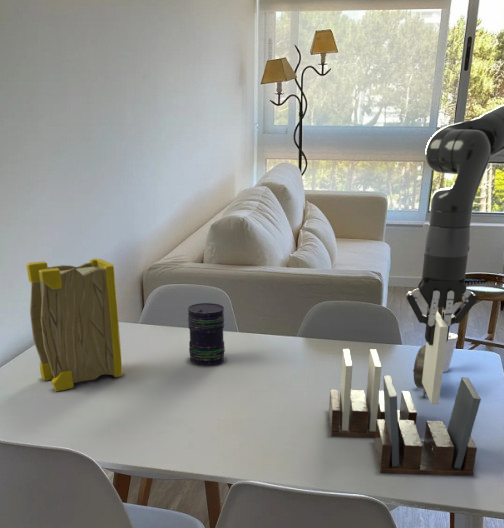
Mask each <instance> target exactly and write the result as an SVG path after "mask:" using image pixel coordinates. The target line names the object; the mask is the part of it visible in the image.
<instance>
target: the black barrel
mask: <svg viewBox="0 0 504 528" xmlns="http://www.w3.org/2000/svg"><path fill="white" fill-rule="evenodd" d="M187 312H188V314H187V315H188V316H187V323H188V325H187V326H188V329H189V342H188V343H189V345H188V352H189V362H190V363H191V364H192V365H194V366H197V367H198V366H199V367H214V366H215V367H216V366H219V365H222V364H223V363H224V362H225V360H226V359H225V351H226V347H225V340H224V329H225V308H224V306H223V305H221V304H218V303H213V302H202V303H200V302H199V303H195V304H191V305H190V306H188V307H187Z"/></svg>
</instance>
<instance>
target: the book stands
mask: <svg viewBox="0 0 504 528" xmlns="http://www.w3.org/2000/svg"><path fill="white" fill-rule="evenodd" d="M328 403H329V404H328V406H329V407H328V418H329V419H328V420H329V429H330V437H336V438H337V437H339V438H341V437H342V438H374V440H373V446H374V450H375V455H376V459H377V464H378V468H379V473H380V474H389V475H390V474H392V475H393V474H394V475H420V476H421V475H424V476H428V475H429V476H454V477H455V476H456V477H457V476H458V477H474V474H475V471H474V469H475V462H476V456H477V450H478V447H477V444H476V443H475V441H474V439H473V437H472V435H471V436H470V439H469V442H468V446H467V449H466V453H465V456H464V460H463V463H462V467H461V469H459V468H454V467H453V464H452V460H453V453H454V445H453V443H452V441H451V439H450V436H449V434H448V432H447V429H448V428H447V427H446V425H445V422H444V421H443V420H426V422H425V430H424V437H423V440H421V437H420V434H419V432H418V431H419V430H418V428H417V417H418V411H417V409H416V406H415V403H414V401H413V398H412V395H411V392H410V391H409V390H408V391H407V390H406V391H405V390H401V395H400V404H399V405H400V406H399V409H397V412H398V445H399V466H395V467H392V464H391V460H390V455H391V442H390V438H389V434H388V431H387V427H386V423H385V407H384V390H379V401H378V412H377V420H376V431H369V427H368V407H367V402H366V394H365V390H364V389H351V396H350V410H349V425H348V431H342V429H341V421H340V405H339V404H340V396H339V391H338V389H335V388H334V389H332V388H331V389H329V402H328Z"/></svg>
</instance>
